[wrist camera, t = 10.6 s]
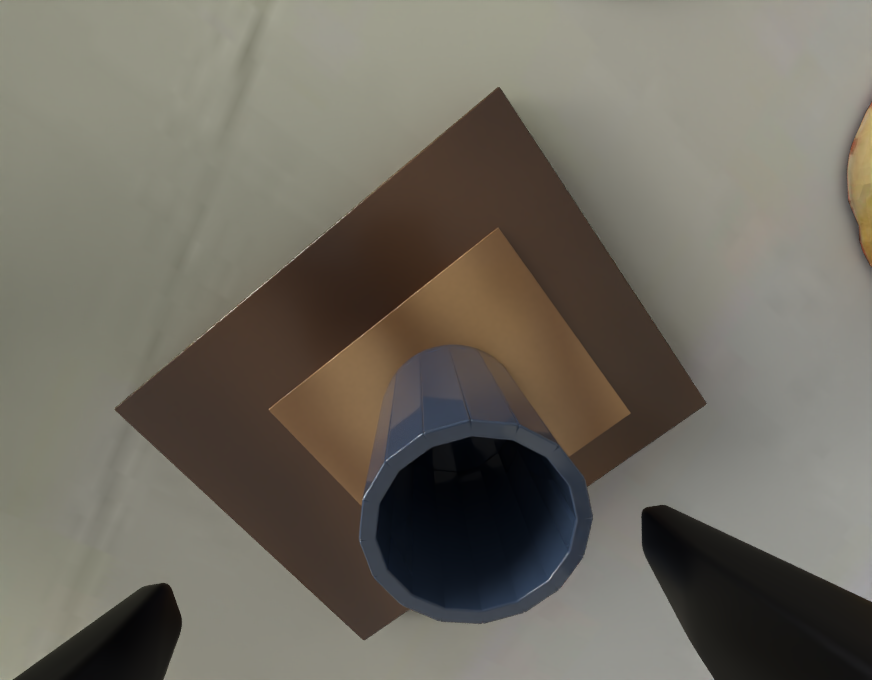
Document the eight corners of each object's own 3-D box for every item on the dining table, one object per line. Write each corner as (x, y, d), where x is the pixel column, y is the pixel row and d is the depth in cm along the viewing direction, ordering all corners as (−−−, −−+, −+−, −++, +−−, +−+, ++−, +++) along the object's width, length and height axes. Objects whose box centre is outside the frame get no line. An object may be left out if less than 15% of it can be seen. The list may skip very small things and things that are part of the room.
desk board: (367, 615, 22) (363, 645, 20) (136, 396, 19) (109, 411, 17) (686, 392, 20) (711, 406, 18) (492, 98, 17) (500, 83, 15)
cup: (439, 496, 19) (455, 659, 11) (353, 401, 17) (310, 517, 10) (546, 420, 18) (634, 540, 11) (465, 315, 17) (503, 372, 10)
